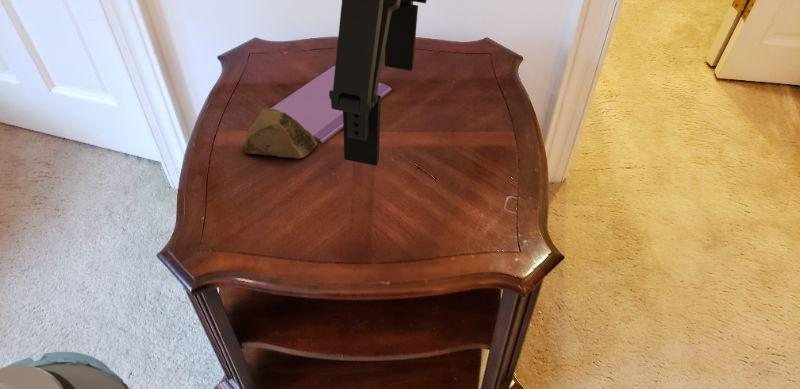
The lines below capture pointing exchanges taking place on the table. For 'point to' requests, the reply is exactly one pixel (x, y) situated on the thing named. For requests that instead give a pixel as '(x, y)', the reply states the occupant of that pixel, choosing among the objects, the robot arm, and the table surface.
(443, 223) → the table surface
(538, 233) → the table surface
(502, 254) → the table surface
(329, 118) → the lavender flat block
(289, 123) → the rock
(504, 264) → the table surface
